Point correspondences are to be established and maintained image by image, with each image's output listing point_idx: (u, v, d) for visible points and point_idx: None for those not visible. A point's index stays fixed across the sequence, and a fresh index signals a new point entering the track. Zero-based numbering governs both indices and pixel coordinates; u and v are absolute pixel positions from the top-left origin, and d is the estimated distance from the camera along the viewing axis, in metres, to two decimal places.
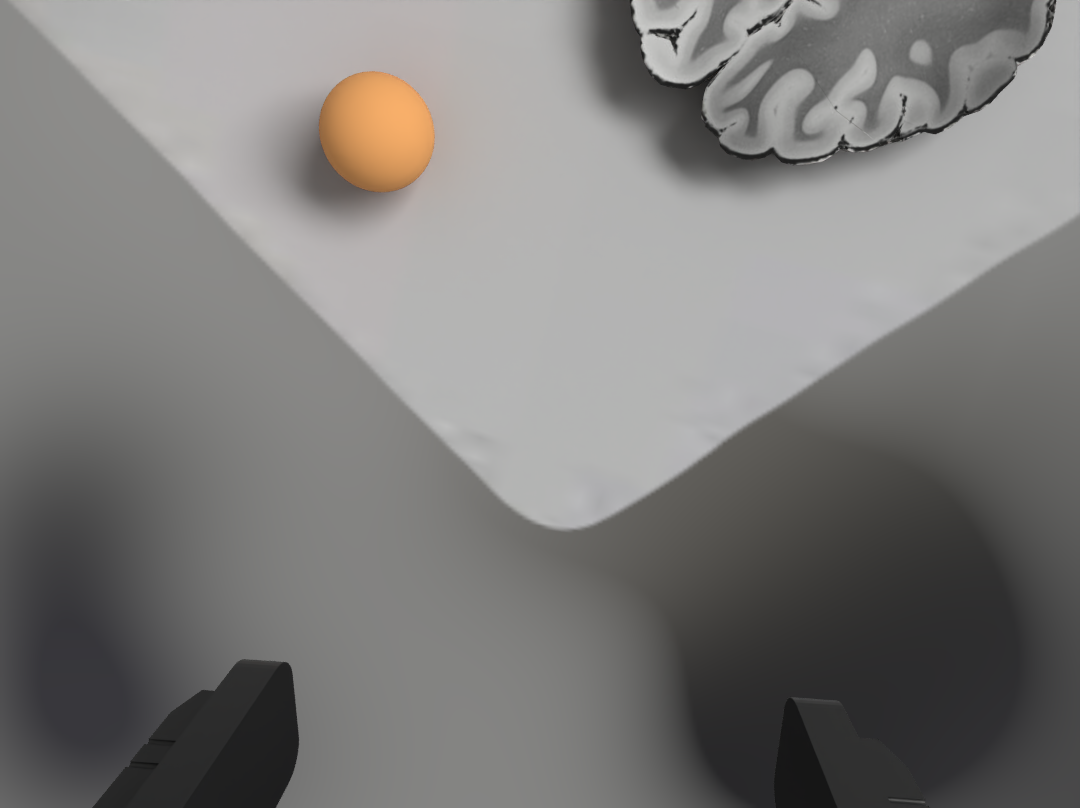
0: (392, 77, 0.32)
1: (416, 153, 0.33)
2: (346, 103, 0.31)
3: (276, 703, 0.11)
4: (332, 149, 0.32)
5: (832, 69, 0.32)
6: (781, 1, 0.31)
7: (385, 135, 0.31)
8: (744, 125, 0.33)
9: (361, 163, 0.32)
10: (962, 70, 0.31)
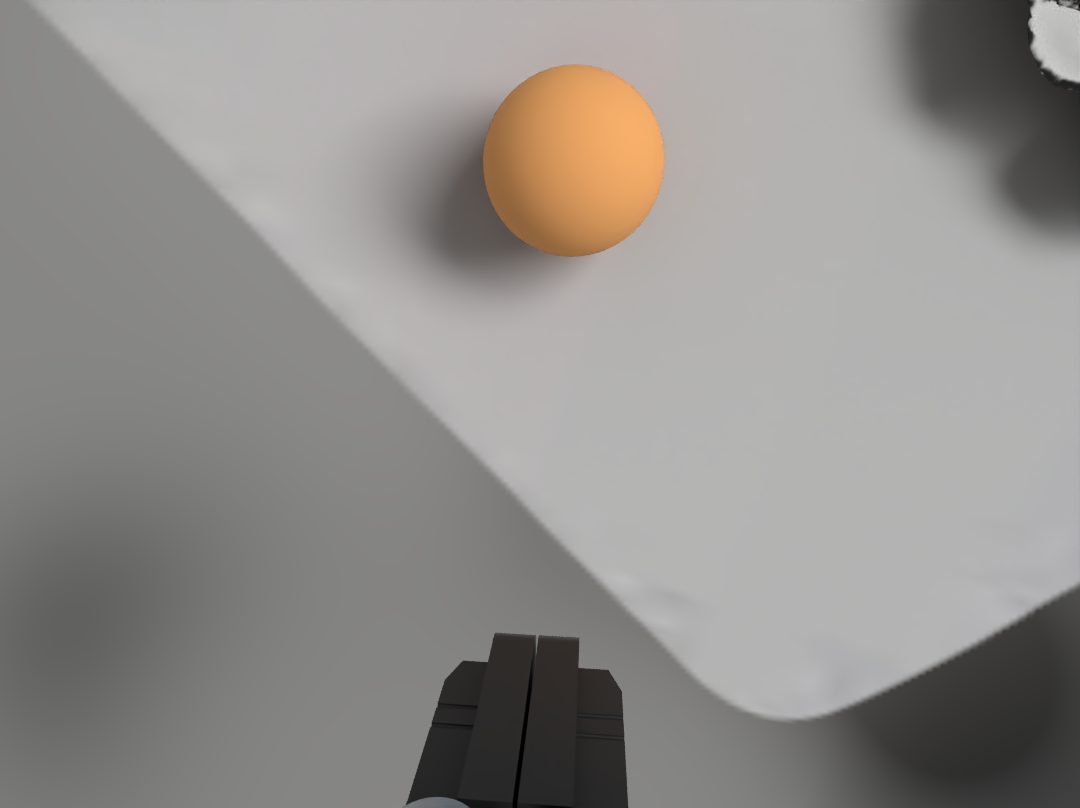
0: (612, 74, 0.20)
1: (647, 199, 0.20)
2: (546, 118, 0.19)
3: (533, 673, 0.12)
4: (514, 193, 0.19)
5: None
6: None
7: (610, 172, 0.19)
8: None
9: (564, 217, 0.19)
10: None
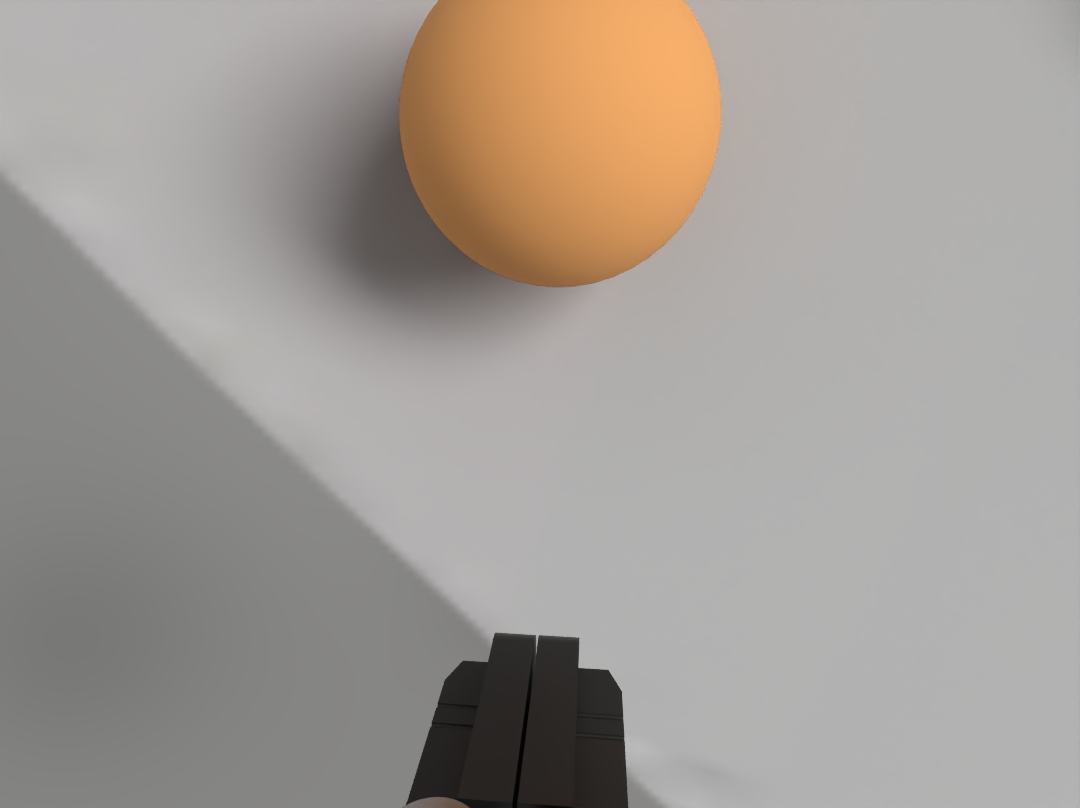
0: None
1: (692, 187, 0.11)
2: (503, 27, 0.09)
3: (532, 672, 0.12)
4: (447, 176, 0.10)
5: None
6: None
7: (627, 134, 0.10)
8: None
9: (540, 221, 0.10)
10: None
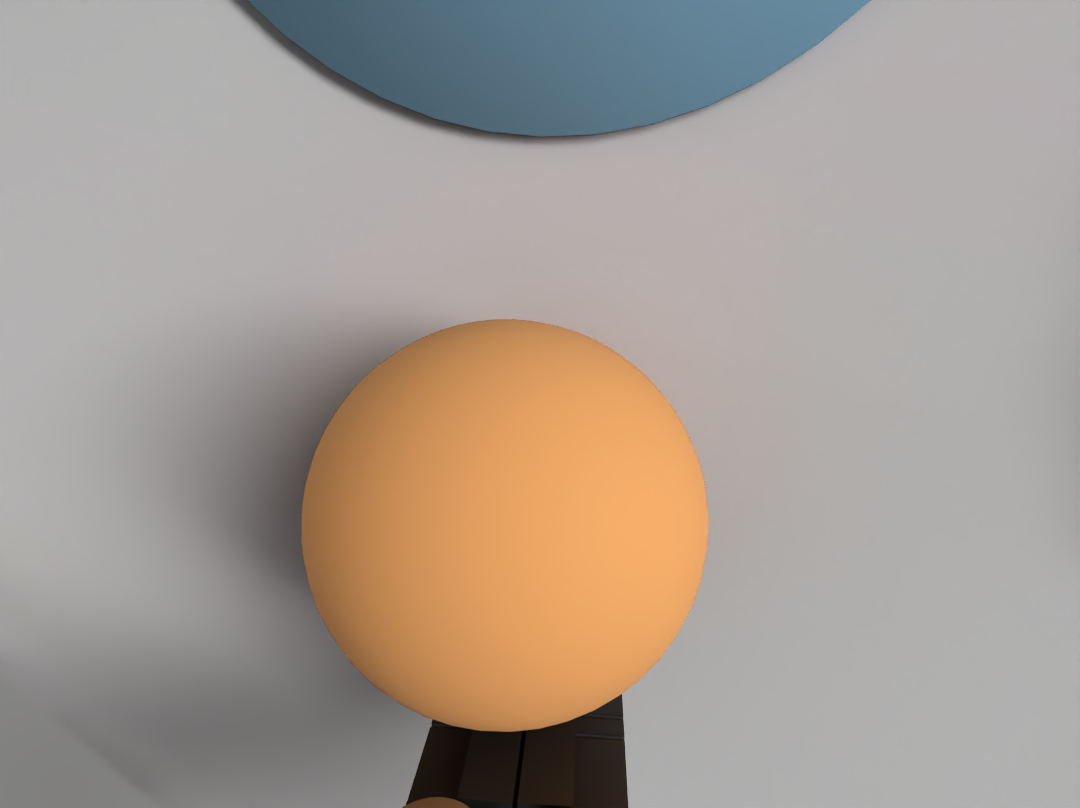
0: None
1: (678, 552, 0.08)
2: (447, 341, 0.08)
3: None
4: (343, 488, 0.08)
5: None
6: None
7: (585, 437, 0.07)
8: None
9: (456, 539, 0.07)
10: None
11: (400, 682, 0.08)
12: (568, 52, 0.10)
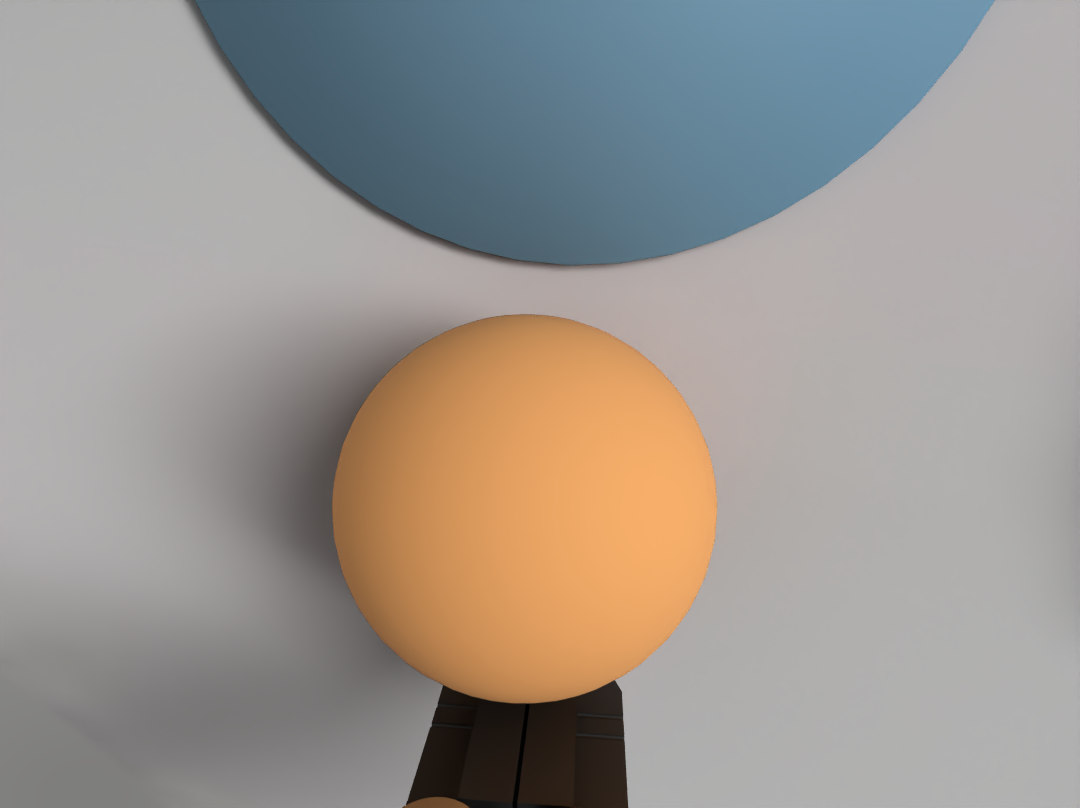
0: None
1: (687, 480, 0.08)
2: None
3: None
4: (392, 390, 0.09)
5: None
6: None
7: (607, 359, 0.09)
8: None
9: (490, 408, 0.08)
10: None
11: (410, 568, 0.08)
12: (593, 193, 0.11)
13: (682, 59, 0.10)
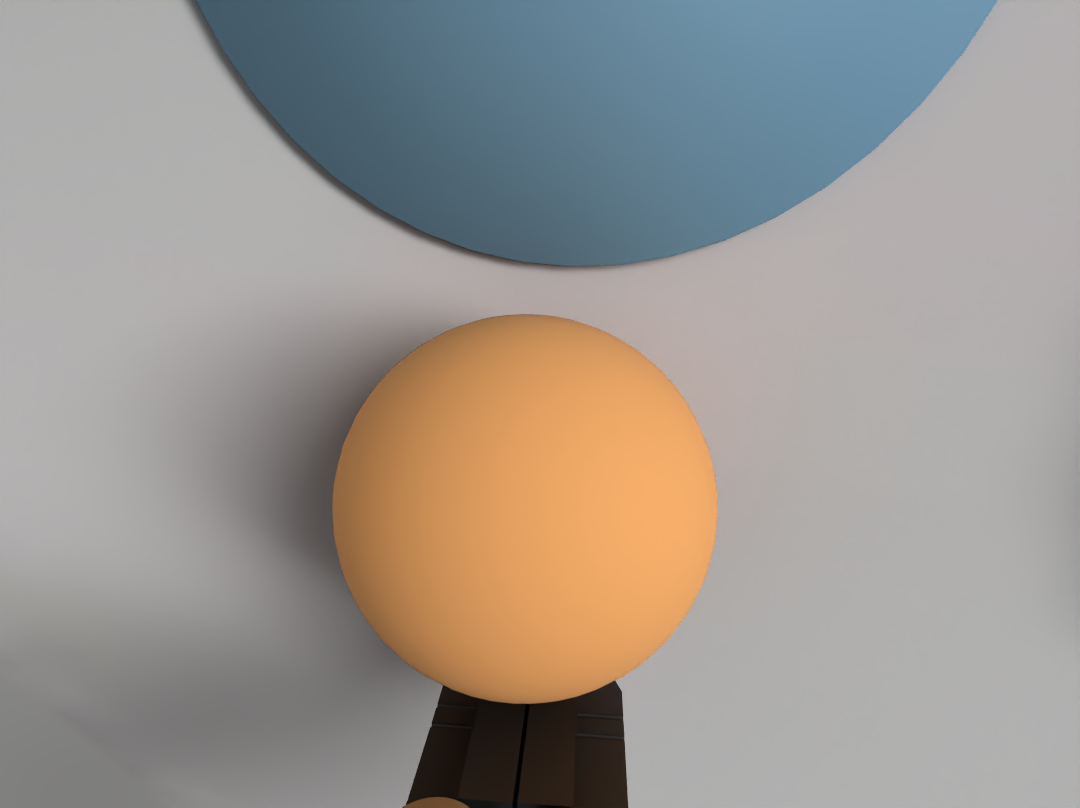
0: None
1: (688, 481, 0.08)
2: (496, 317, 0.10)
3: None
4: (393, 390, 0.09)
5: None
6: None
7: (608, 360, 0.09)
8: None
9: (491, 408, 0.08)
10: None
11: (411, 569, 0.08)
12: (595, 194, 0.11)
13: (684, 61, 0.10)
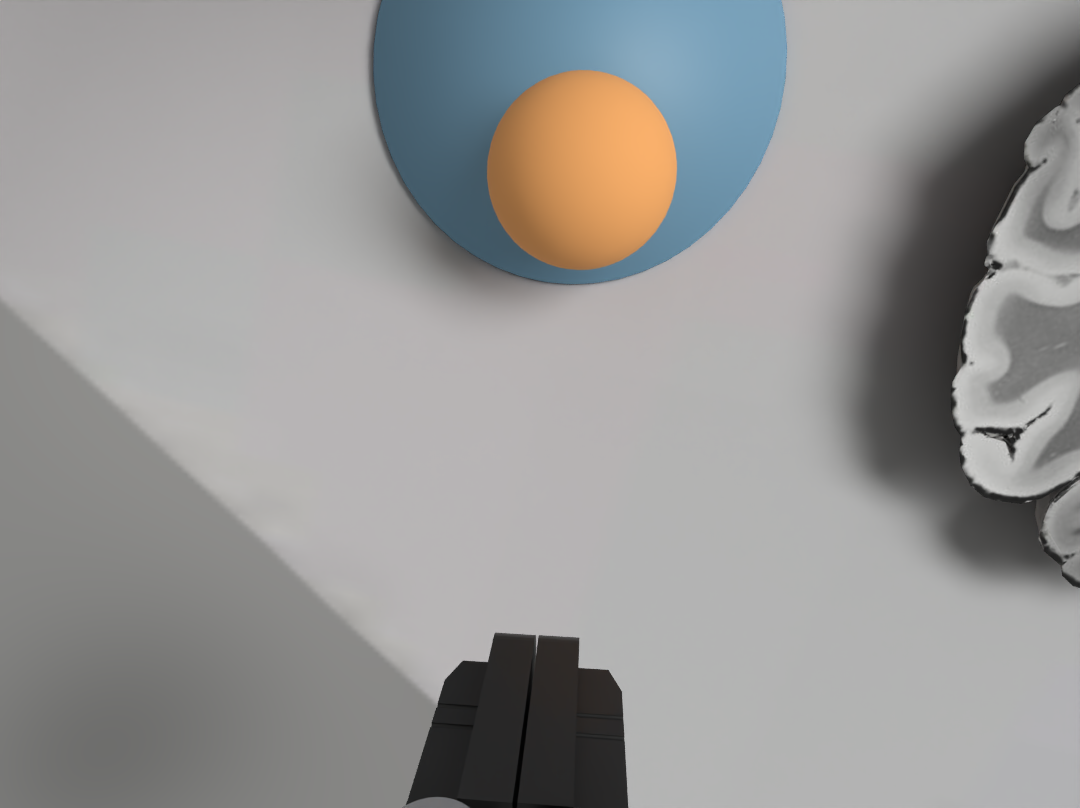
0: (607, 263, 0.20)
1: None
2: None
3: (533, 672, 0.12)
4: None
5: None
6: None
7: None
8: None
9: None
10: None
11: None
12: None
13: None
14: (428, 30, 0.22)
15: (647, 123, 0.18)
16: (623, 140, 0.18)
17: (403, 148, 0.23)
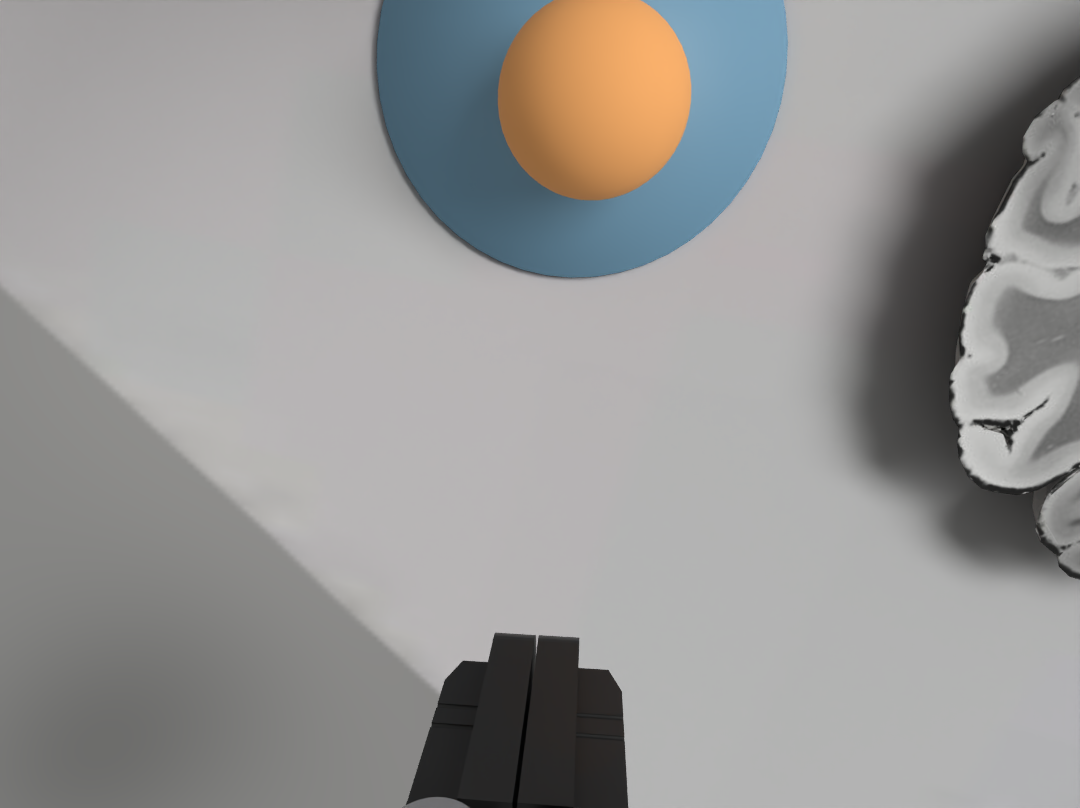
0: (628, 152, 0.18)
1: None
2: (550, 187, 0.20)
3: (533, 673, 0.12)
4: None
5: None
6: None
7: None
8: None
9: None
10: None
11: None
12: (582, 243, 0.23)
13: None
14: (431, 25, 0.22)
15: (663, 18, 0.19)
16: (645, 9, 0.18)
17: (406, 143, 0.23)
